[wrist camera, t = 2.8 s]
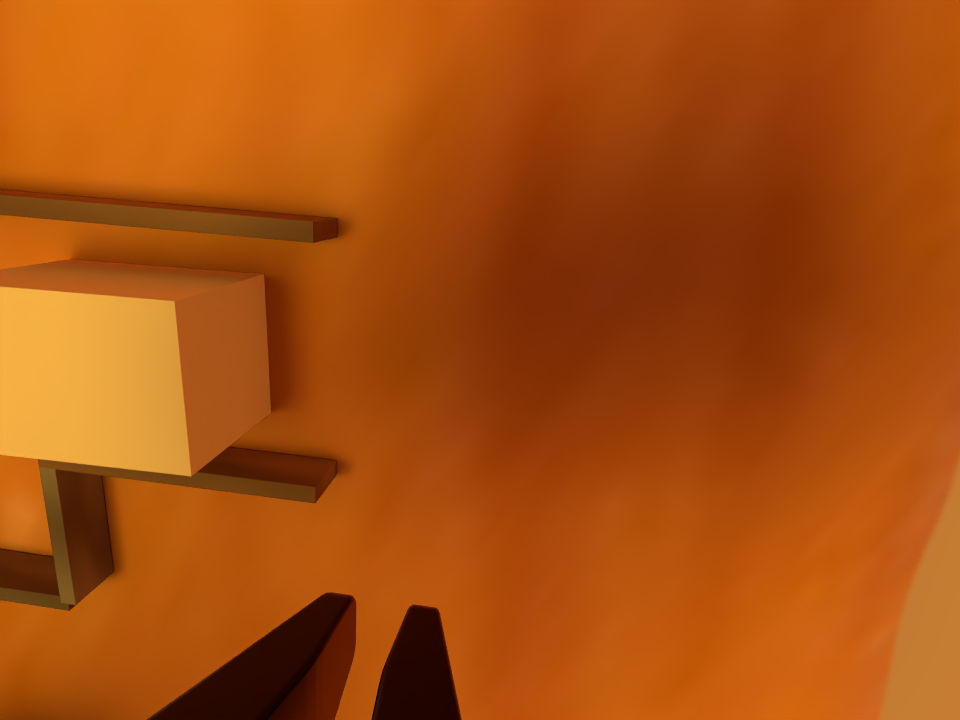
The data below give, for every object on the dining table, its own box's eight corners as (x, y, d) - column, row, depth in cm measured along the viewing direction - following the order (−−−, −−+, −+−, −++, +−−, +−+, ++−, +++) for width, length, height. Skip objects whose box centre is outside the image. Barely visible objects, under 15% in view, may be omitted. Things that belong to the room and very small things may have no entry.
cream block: (272, 411, 21) (191, 476, 16) (93, 393, 22) (-35, 450, 17) (265, 273, 20) (174, 301, 15) (74, 258, 20) (-73, 280, 16)
